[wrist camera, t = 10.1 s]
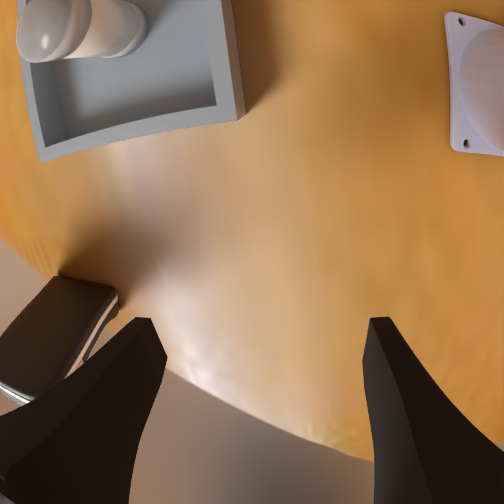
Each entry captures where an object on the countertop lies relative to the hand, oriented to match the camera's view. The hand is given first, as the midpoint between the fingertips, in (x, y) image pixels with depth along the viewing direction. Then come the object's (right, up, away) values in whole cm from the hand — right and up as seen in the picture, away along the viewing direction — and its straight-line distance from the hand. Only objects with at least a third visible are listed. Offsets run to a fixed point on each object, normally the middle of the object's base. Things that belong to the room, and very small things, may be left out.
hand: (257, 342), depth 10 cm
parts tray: (-7, +15, +3) cm, 17 cm away
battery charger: (-14, -1, +14) cm, 20 cm away
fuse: (-7, +15, +3) cm, 17 cm away
